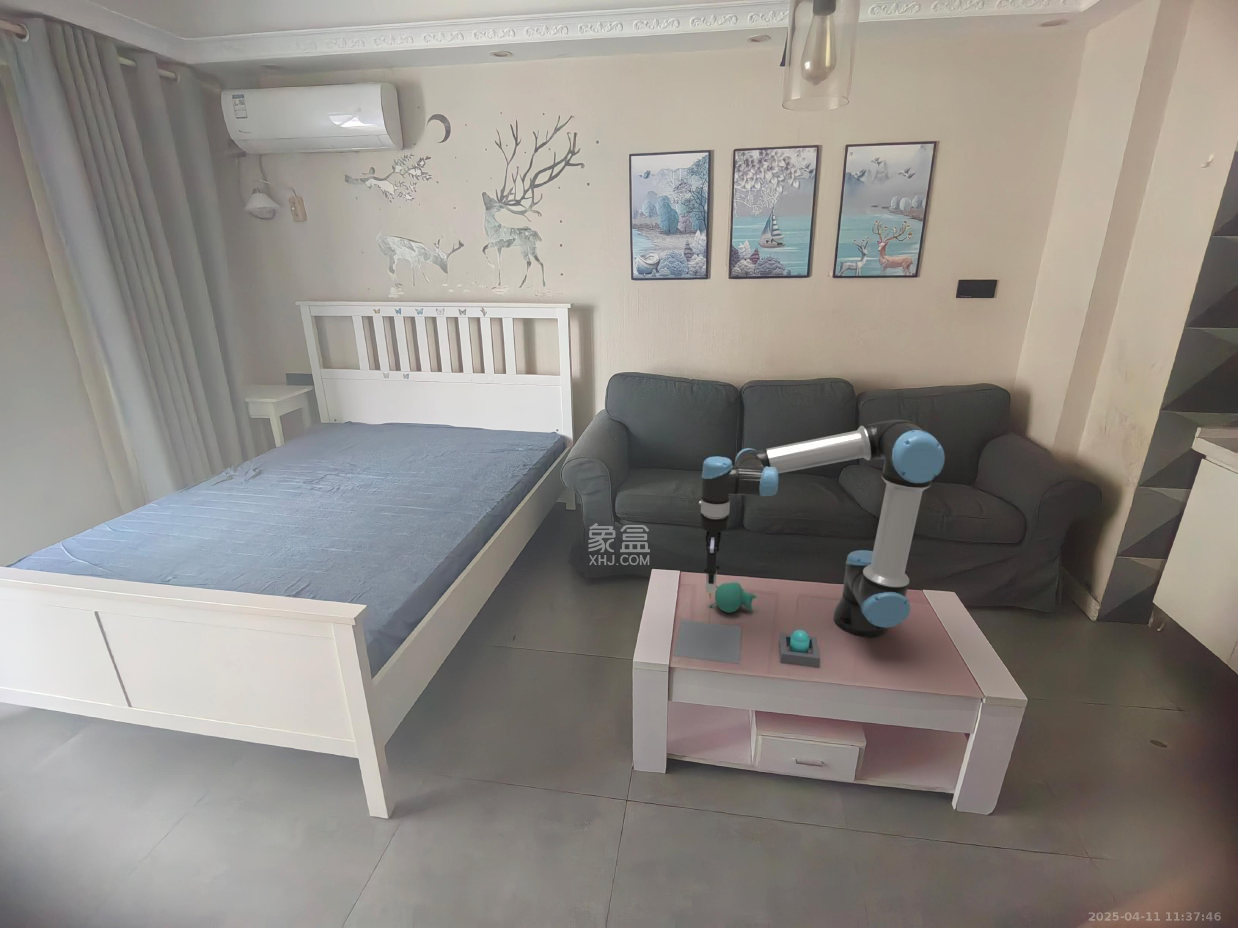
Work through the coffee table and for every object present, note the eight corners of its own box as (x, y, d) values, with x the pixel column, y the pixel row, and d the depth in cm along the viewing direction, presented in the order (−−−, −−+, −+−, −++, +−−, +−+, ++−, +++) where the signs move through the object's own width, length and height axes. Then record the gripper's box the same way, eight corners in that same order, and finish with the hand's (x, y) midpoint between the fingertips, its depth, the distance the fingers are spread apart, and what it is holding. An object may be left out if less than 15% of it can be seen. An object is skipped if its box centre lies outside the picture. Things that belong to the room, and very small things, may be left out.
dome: (807, 648, 173) (809, 627, 170) (808, 659, 168) (811, 637, 166) (789, 646, 174) (791, 625, 171) (789, 656, 169) (791, 635, 167)
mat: (741, 627, 184) (741, 626, 183) (739, 664, 167) (739, 663, 167) (681, 620, 187) (681, 619, 187) (673, 656, 171) (673, 655, 170)
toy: (759, 588, 195) (713, 574, 199) (757, 587, 185) (709, 573, 190) (751, 619, 193) (705, 604, 198) (749, 620, 184) (701, 605, 189)
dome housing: (815, 645, 175) (816, 636, 174) (818, 667, 165) (819, 658, 164) (779, 641, 177) (780, 632, 176) (780, 663, 167) (781, 653, 166)
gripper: (702, 503, 171) (699, 578, 179) (698, 522, 159) (695, 602, 167) (730, 505, 169) (725, 581, 177) (727, 525, 157) (722, 605, 165)
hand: (710, 591), depth 172 cm, fingers closed
